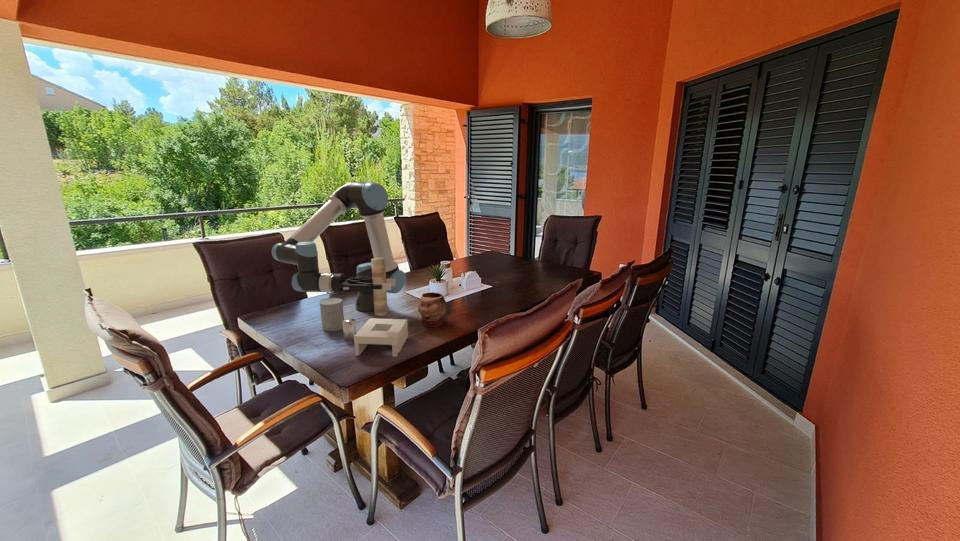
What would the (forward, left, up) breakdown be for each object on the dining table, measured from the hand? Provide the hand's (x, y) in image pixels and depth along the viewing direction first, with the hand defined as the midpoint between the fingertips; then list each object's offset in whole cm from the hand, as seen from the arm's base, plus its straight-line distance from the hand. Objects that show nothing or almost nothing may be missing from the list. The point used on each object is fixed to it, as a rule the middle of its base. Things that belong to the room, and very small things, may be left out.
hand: (392, 284), depth 148 cm
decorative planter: (-26, +11, -26) cm, 38 cm away
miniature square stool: (0, -5, -26) cm, 27 cm away
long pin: (0, -5, -12) cm, 13 cm away
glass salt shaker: (-6, -21, -26) cm, 34 cm away
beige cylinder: (-17, -33, -26) cm, 46 cm away
